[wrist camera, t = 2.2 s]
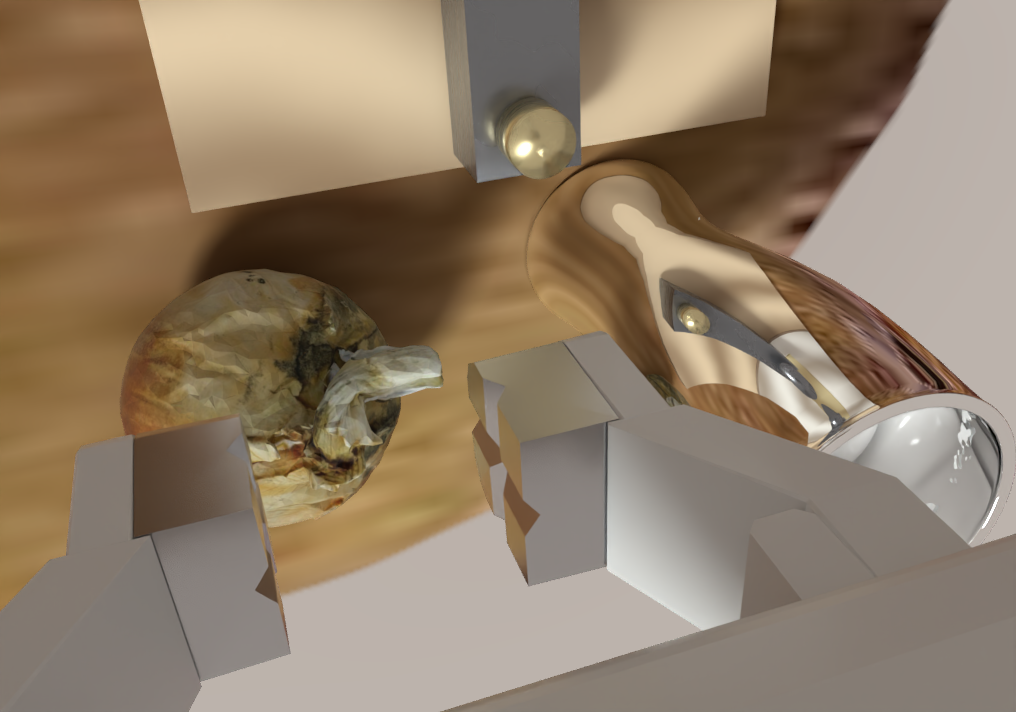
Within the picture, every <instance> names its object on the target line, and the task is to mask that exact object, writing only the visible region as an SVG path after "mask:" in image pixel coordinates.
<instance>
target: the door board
mask: <svg viewBox="0 0 1016 712" xmlns="http://www.w3.org/2000/svg"><path fill="white" fill-rule="evenodd" d="M139 3H140V7H141V11H142V15H143V19H144V23H145V27H146V31H147V35H148V39H149V43H150V47H151V51H152V55H153V59H154V63H155V67H156V71H157V75H158V79H159V83H160V87H161V91H162V95H163V99H164V103H165V107H166V111H167V115H168V119H169V123H170V127H171V131H172V135H173V139H174V143H175V147H176V151H177V155H178V159H179V163H180V167H181V171H182V175H183V179H184V183H185V187H186V191H187V195H188V199H189V203H190V207H191V211H192V213H195V212H201V211H207V210H213V209H219V208H225V207H231V206H236V205H242V204H248V203H254V202H260V201H266V200H272V199H278V198H284V197H289V196H295V195H301V194H307V193H313V192H319V191H325V190H331V189H337V188H342V187H348V186H354V185H360V184H366V183H372V182H378V181H384V180H390V179H396V178H401V177H407V176H413V175H419V174H425V173H431V172H437V171H443V170H449V169H454V168H460V167H464V166H463V165H462V163H461V162H460V161H459V160H458V159H457V157H456V156H455V155H454V151H453V140H452V128H451V117H450V105H449V94H448V82H447V71H446V59H445V48H444V36H443V25H442V13H441V2H440V0H139ZM775 8H776V0H579V31H580V112H581V147H584V146H590V145H596V144H602V143H608V142H613V141H619V140H625V139H631V138H637V137H643V136H649V135H655V134H661V133H667V132H672V131H678V130H684V129H690V128H696V127H702V126H708V125H714V124H720V123H725V122H731V121H737V120H743V119H749V118H755V117H761V116H765V115H766V104H767V93H768V83H769V72H770V61H771V51H772V40H773V29H774V19H775Z"/></svg>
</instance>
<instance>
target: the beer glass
mask: <svg viewBox="0 0 1016 712" xmlns="http://www.w3.org/2000/svg"><path fill="white" fill-rule="evenodd" d="M526 261H527V270H528V275H529V279H530V282H531V285H532V288H533V290H534V292H535V294H536V295H537V297H538V298H539V300H540V301H541V302H542V303H543V304H544V306H545V307H546V308H547V309H548V310H550V311H551V312H552V313H553V314H555V315H556V316H557V317H559V318H560V319H562V320H563V321H565V322H566V323H568V324H569V325H571V326H572V327H574V328H575V329H576V330H577V331H579V332H580V333H581V334H582V335H585V334H589V333H593V332H597V331H603V332H606V333H608V334H609V335H610V337H611V338H612V339H613V340H614V341H615V342H616V344H617V345H618V346H619V347H620V348H621V349H622V351H623V352H624V353H625V354H626V355H627V356H628V358H629V359H630V360H631V361H632V362H633V364H634V365H635V366H636V367H637V368H638V369H639V371H640V372H641V373H642V374H643V375H644V376H645V378H646V379H647V380H648V381H649V382H650V383H651V385H652V386H653V387H654V388H655V389H656V391H657V392H658V393H659V394H660V395H661V396H662V398H663V399H664V400H665V401H666V402H667V403H668V405H669V406H670V407H674V406H678V405H683V404H684V405H687V406H690V407H693V408H696V409H699V410H702V411H705V412H708V413H710V414H713V415H716V416H719V417H722V418H725V419H728V420H731V421H734V422H737V423H740V424H743V425H745V426H748V427H751V428H754V429H757V430H760V431H763V432H766V433H769V434H772V435H775V436H778V437H780V438H783V439H786V440H789V441H792V442H795V443H798V444H801V445H804V446H807V447H810V448H813V449H815V450H818V451H821V452H824V453H827V454H830V455H833V456H836V457H839V458H842V459H845V460H848V461H850V462H853V463H856V464H859V465H862V466H865V467H868V468H871V469H874V470H877V471H880V472H883V473H885V474H888V475H891V476H894V477H897V478H898V479H899V480H900V481H901V482H902V483H903V484H904V485H905V486H907V487H908V488H909V489H910V490H911V491H912V492H913V493H914V494H915V495H916V496H917V497H918V498H919V499H920V500H921V501H923V502H924V503H925V504H926V505H927V506H928V507H929V508H930V509H931V510H932V511H933V512H934V513H935V514H936V515H938V516H939V517H940V518H941V519H942V520H943V521H944V522H945V523H946V524H947V525H948V526H949V527H950V528H951V529H952V530H954V531H955V532H956V533H957V534H958V535H959V536H960V537H961V538H962V539H963V540H964V541H965V542H966V543H967V544H968V545H970V546H971V547H975V546H978V545H981V544H982V543H983V541H984V540H985V538H986V537H987V536H988V534H989V533H990V531H991V530H992V528H993V527H994V525H995V523H996V522H997V520H998V518H999V516H1000V514H1001V512H1002V510H1003V508H1004V506H1005V503H1006V502H1007V499H1008V497H1009V494H1010V491H1011V488H1012V484H1013V480H1014V476H1015V469H1016V446H1015V441H1014V436H1013V434H1012V431H1011V428H1010V426H1009V424H1008V423H1007V421H1006V420H1005V418H1004V417H1003V415H1002V414H1001V413H1000V412H999V411H998V410H997V409H996V408H995V407H993V406H992V405H991V404H989V403H987V402H986V401H984V400H983V399H981V398H980V397H979V396H978V395H977V394H976V393H975V392H973V391H972V390H971V389H970V388H969V387H968V386H967V385H966V384H964V383H963V382H962V381H961V380H960V379H959V378H958V377H957V376H956V375H955V374H954V373H953V372H952V371H950V370H949V369H948V368H947V367H946V366H945V365H944V364H943V363H942V362H941V361H940V360H939V359H937V358H936V357H935V356H934V355H933V354H932V353H931V352H929V351H928V350H927V349H926V348H925V347H924V346H923V345H922V344H920V343H919V342H918V341H917V340H916V339H915V338H914V337H912V336H911V335H910V334H909V333H908V332H906V331H905V330H904V329H902V328H901V327H900V326H899V325H897V324H896V323H895V322H894V321H892V320H891V319H890V318H889V317H887V316H886V315H885V314H884V313H882V312H881V311H880V310H878V309H877V308H876V307H874V306H873V305H871V304H870V303H868V302H867V301H865V300H864V299H862V298H861V297H859V296H858V295H856V294H855V293H853V292H852V291H850V290H849V289H847V288H846V287H844V286H843V285H842V284H840V283H838V282H837V281H835V280H833V279H831V278H829V277H827V276H825V275H823V274H821V273H819V272H817V271H815V270H813V269H811V268H809V267H807V266H806V265H803V264H802V263H800V262H798V261H795V260H793V259H791V258H788V257H786V256H784V255H781V254H779V253H777V252H774V251H772V250H770V249H767V248H765V247H762V246H760V245H757V244H755V243H752V242H750V241H747V240H745V239H742V238H740V237H737V236H735V235H733V234H731V233H728V232H726V231H724V230H722V229H720V228H718V227H716V226H714V225H713V224H711V223H710V222H708V221H707V220H706V219H705V218H704V217H703V216H702V215H701V213H700V212H699V211H698V209H697V208H696V206H695V205H694V203H693V202H692V200H691V199H690V197H689V196H688V194H687V193H686V192H685V190H684V189H683V188H682V186H681V185H680V184H679V183H678V182H677V181H676V180H675V179H674V178H673V177H672V176H671V175H670V174H668V173H667V172H666V171H664V170H663V169H661V168H659V167H657V166H655V165H653V164H650V163H647V162H643V161H639V160H631V159H619V160H611V161H606V162H602V163H599V164H595V165H593V166H590V167H588V168H586V169H584V170H582V171H580V172H578V173H577V174H575V175H573V176H572V177H571V178H569V179H568V180H567V181H565V182H564V183H563V184H562V185H561V186H559V187H558V188H557V189H556V190H555V191H554V192H553V194H552V195H551V196H550V197H549V198H548V200H547V201H546V202H545V204H544V205H543V207H542V208H541V210H540V211H539V213H538V215H537V217H536V219H535V221H534V223H533V226H532V229H531V232H530V235H529V239H528V244H527V255H526Z"/></svg>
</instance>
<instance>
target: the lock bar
mask: <svg viewBox="0 0 1016 712" xmlns="http://www.w3.org/2000/svg"><path fill="white" fill-rule="evenodd" d="M440 2H441V13H442V25H443V36H444V48H445V59H446V71H447V82H448V94H449V105H450V117H451V128H452V140H453V151H454V155H455V156H456V157H457V159H458V160H459V161H460V162H461V163H462V165H463V166H464V167H465V168H466V170H467V171H468V172H469V173H470V174H471V176H472V177H473V178H474V179H475V181H476V182H477V183H480V182H485V181H491V180H497V179H503V178H508V177H514V176H520V175H525V176H527V177H530V178H534V179H545V178H549V177H552V176H554V175H556V174H558V173H559V172H561V171H562V170H563V169H564V168H566V167H571V166H577V165H581V112H580V31H579V0H440Z"/></svg>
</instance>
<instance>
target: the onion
mask: <svg viewBox="0 0 1016 712" xmlns="http://www.w3.org/2000/svg"><path fill="white" fill-rule="evenodd" d="M442 386H443V377H442V366H441V362H440V359H439V356H438V353H437V352H435V351H434V350H433V349H432V348H430V347H429V346H414V345H411V346H407V347H402V348H398V347H392V346H388V344H387V343H386V341H385V339H384V337H383V336H382V334H381V332H380V331H379V329H378V327H377V325H376V324H375V322H374V321H373V320H372V319H371V318H370V317H369V316H368V315H367V314H366V313H365V312H364V311H363V310H362V309H361V308H360V307H359V306H357V305H356V304H355V303H354V302H353V301H352V300H351V299H349V298H348V297H347V295H346V294H345V293H343V292H341V291H340V290H339V289H338V288H337V287H334V286H331V285H329V284H326V283H323V282H320V281H318V280H316V279H314V278H311V277H308V276H305V275H301V274H293V273H282V272H278V271H273V270H269V269H254V270H240V271H235V272H229V273H225V274H221V275H218V276H216V277H213V278H211V279H209V280H206V281H204V282H202V283H200V284H199V285H197V286H195V287H193V288H191V289H190V290H188V291H186V292H185V293H183V294H182V295H180V296H179V297H177V298H176V299H175V300H173V301H172V302H171V303H170V304H168V305H167V306H166V307H165V308H164V309H163V310H162V311H161V312H160V313H159V314H158V315H157V316H156V317H155V318H154V319H153V320H152V321H151V322H150V324H149V325H148V326H147V327H146V329H145V330H144V331H143V332H142V333H141V335H140V336H139V338H138V339H137V341H136V343H135V345H134V347H133V349H132V351H131V354H130V356H129V359H128V362H127V366H126V369H125V373H124V377H123V381H122V389H121V397H120V414H121V418H122V423H123V427H124V431H125V435H126V436H127V435H131V434H132V435H134V436H136V435H137V434H138V433H143V432H148V431H153V430H158V429H163V428H168V427H173V426H178V425H182V424H187V423H192V422H197V421H202V420H207V419H212V418H217V417H222V416H227V415H232V414H237V413H240V416H241V419H242V423H243V426H244V430H245V434H246V437H247V441H248V445H249V448H250V454H251V460H252V465H253V471H254V477H255V481H256V482H257V483H258V484H259V488H260V493H261V497H262V501H263V505H264V510H265V514H266V518H267V523H268V527H281V526H284V525H288V524H293V523H297V522H302V521H305V520H308V519H311V518H312V519H313V520H317V519H319V518H320V517H322V516H324V515H325V514H328V513H329V512H331V511H333V510H335V509H336V508H338V507H339V506H341V505H342V504H343V503H345V502H346V501H347V500H348V499H349V498H350V497H352V496H353V495H354V494H355V493H356V492H357V491H358V490H359V489H360V488H361V487H362V486H363V485H364V483H365V482H366V481H367V479H368V478H369V476H370V474H371V473H372V471H373V470H374V469H375V468H376V467H377V465H378V464H379V463H380V461H381V458H382V456H383V454H384V451H385V449H386V448H387V446H388V444H389V441H390V438H391V436H392V433H393V431H394V429H395V426H396V424H397V422H398V418H399V414H400V409H401V399H400V397H401V396H404V395H407V394H410V393H413V392H416V391H419V390H422V389H425V388H440V387H442Z"/></svg>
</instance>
